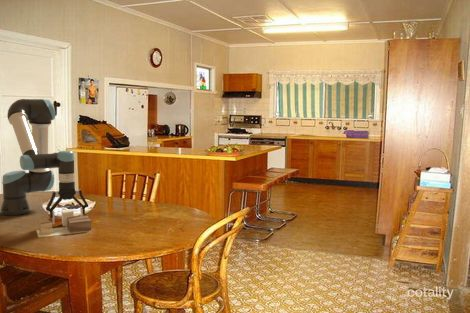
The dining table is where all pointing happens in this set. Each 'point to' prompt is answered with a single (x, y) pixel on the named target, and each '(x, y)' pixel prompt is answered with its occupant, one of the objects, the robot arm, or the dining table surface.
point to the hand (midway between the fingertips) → (67, 222)
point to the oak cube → (46, 227)
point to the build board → (57, 232)
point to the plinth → (78, 224)
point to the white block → (66, 216)
